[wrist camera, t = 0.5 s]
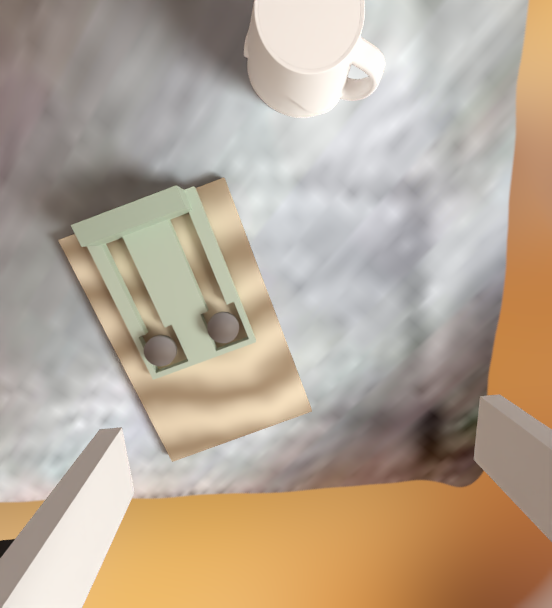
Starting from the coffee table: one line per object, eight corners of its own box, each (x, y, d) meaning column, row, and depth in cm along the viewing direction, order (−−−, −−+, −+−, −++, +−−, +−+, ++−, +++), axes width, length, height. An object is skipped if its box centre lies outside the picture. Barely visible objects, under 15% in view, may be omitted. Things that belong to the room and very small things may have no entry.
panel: (83, 229, 32) (60, 229, 28) (195, 187, 32) (187, 181, 28) (155, 375, 36) (143, 393, 32) (256, 339, 36) (256, 352, 32)
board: (65, 239, 34) (42, 240, 30) (225, 179, 33) (221, 172, 30) (174, 455, 40) (166, 477, 36) (310, 405, 40) (315, 423, 36)
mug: (227, 42, 23) (265, -87, 21) (235, 97, 32) (262, 9, 30) (379, 110, 24) (424, -6, 23) (345, 144, 33) (376, 63, 32)
